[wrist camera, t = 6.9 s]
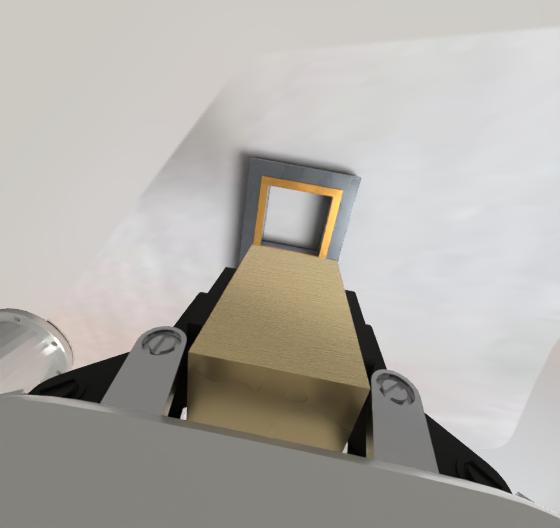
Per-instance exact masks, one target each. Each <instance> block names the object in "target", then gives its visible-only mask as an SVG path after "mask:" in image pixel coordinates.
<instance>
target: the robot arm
mask: <svg viewBox="0 0 560 528" xmlns="http://www.w3.org/2000/svg"><path fill="white" fill-rule="evenodd" d="M236 271H237V269H234V268H228V267H226V268H225V269H224V271H223V272H222V273H221V275H220V276H219V278H218V279H217V281H216V282H215V283H214V285H213V286H212V288H211V289H210V291H209V292H208V293H203V292H200V293H199V294H198V295H197V296H196V298H195V299H194V300H193V302H192V303H191V304H190V305H189V307H188V308H187V309H186V311H185V312H184V313H183V315H182V316H181V317H180V319H179V320H178V321H177V323H176V324H175V325H174V327H170V326H164V327H157V328H153V329H151V330H149V331H147V332H145V333H144V334H142V335H141V336H140V337H139V339H138V340H137V341H136V343H135V345H134V347H133V348H132V350H131V352H128V353H124V354H121V355H118V356H115V357H112V358H109V359H106V360H103V361H100V362H97V363H93V364H90V365H87V366H84V367H81V368H78V369H75V370H72V371H69V369H70V368H71V365H72V352H71V349H70V347H69V345H68V343H67V341H66V340H65V338H64V337H63V336H62V335H61V333H60V332H59V331H58V330H57V329H56V328H54V327H53V326H52V325H51V324H50V323H48V322H47V321H45V320H44V319H42V318H40V317H38V316H36V315H34V314H32V313H29V312H27V311H23V310H18V309H8V308H7V309H0V528H560V515H559V514H558V513H555V512H553V511H551V510H549V509H547V508H545V507H542V506H540V505H538V504H536V503H534V502H533V501H531V500H530V499H528V498H527V497H525V496H524V495H522V494H521V493H519V492H517V493H516V494H515V495H513V494H512V492H511V490H510V489H509V487H508V485H507V484H506V482H505V481H504V480H503V478H502V477H501V476H500V475H499V474H498V473H497V471H495V470H494V469H493V468H492V467H491V466H490V465H489V464H488V463H487V462H485V461H484V460H483V459H482V458H480V457H479V456H478V455H477V454H475V453H474V452H473V451H472V450H470V449H469V448H468V447H467V446H465V445H464V444H463V443H462V442H460V441H459V440H458V439H457V438H456V437H454V436H453V435H452V434H451V433H449V432H448V431H447V430H446V429H444V428H443V427H442V426H441V425H439V424H438V423H437V422H436V421H434V420H433V419H432V418H431V417H429V416H428V415H427V414H426V413H424V410H423V405H422V401H421V397H420V395H419V392H418V390H417V389H416V387H415V386H414V385H413V384H412V383H411V382H410V381H409V380H408V379H407V378H405V377H404V376H402V375H401V374H399V373H396V372H394V371H391V370H387V368H386V365H385V363H384V360H383V357H382V354H381V351H380V349H379V346H378V343H377V340H376V337H375V335H374V332H373V329H372V327H371V326H370V325H367V324H365V321H364V318H363V315H362V312H361V309H360V306H359V303H358V300H357V297H356V294H355V292H353V291H348V290H345V293H346V297H347V301H348V305H349V308H350V312H351V316H352V320H353V324H354V328H355V332H356V335H357V339H358V343H359V347H360V351H361V355H362V358H363V362H364V366H365V370H366V374H367V378H368V381H369V385H370V391H369V393H368V396H367V398H366V400H365V403H364V405H363V407H362V409H361V412H360V414H359V416H358V418H357V421H356V423H355V425H354V427H353V430H352V432H351V434H350V437H349V439H348V441H347V443H346V446H345V448H344V450H343V453H342V452H337V451H332V450H328V449H323V448H318V447H313V446H308V445H304V444H299V443H294V442H289V441H284V440H280V439H275V438H270V437H265V436H260V435H256V434H251V433H246V432H241V431H236V430H231V429H227V428H222V427H217V426H212V425H207V424H202V423H197V422H192V421H187V420H183V418H184V414H185V408H186V407H187V384H188V352H189V350H190V348H191V347H192V345H193V343H194V342H195V340H196V338H197V336H198V335H199V333H200V331H201V330H202V328H203V326H204V325H205V323H206V321H207V320H208V318H209V316H210V314H211V313H212V311H213V309H214V308H215V306H216V304H217V303H218V301H219V299H220V298H221V296H222V294H223V293H224V291H225V289H226V287H227V286H228V284H229V282H230V281H231V279H232V277H233V276H234V274H235V272H236ZM68 371H69V372H68ZM39 382H42V383H40V384H39V385H37V384H38V383H39ZM36 385H37V386H36ZM35 386H36V387H35ZM34 387H35V388H34ZM32 388H34V389H33V390H31V389H32ZM30 390H31V391H30ZM29 391H30V392H29Z"/></svg>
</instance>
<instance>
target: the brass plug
mask: <svg viewBox="0 0 560 528" xmlns="http://www.w3.org/2000/svg"><path fill="white" fill-rule="evenodd" d="M369 391H370V385H369V381H368V378H367V374H366V370H365V366H364V362H363V358H362V355H361V351H360V347H359V343H358V339H357V335H356V332H355V328H354V324H353V320H352V316H351V312H350V308H349V305H348V301H347V297H346V293H345V289H344V285H343V282H342V278H341V274H340V270H339V266H338V262H337V261H334V260H329V259H324V258H319V257H313V256H308V255H303V254H298V253H293V252H287V251H282V250H277V249H272V248H267V247H261V246H256V245H251V247H250V249H249V250H248V252H247V254H246V255H245V257H244V259H243V260H242V262H241V264H240V266H239V267H238V269H237V271H236V272H235V274H234V276H233V277H232V279H231V281H230V282H229V284H228V286H227V287H226V289H225V291H224V293H223V294H222V296H221V298H220V299H219V301H218V303H217V304H216V306H215V308H214V309H213V311H212V313H211V314H210V316H209V318H208V320H207V321H206V323H205V325H204V326H203V328H202V330H201V331H200V333H199V335H198V336H197V338H196V340H195V342H194V343H193V345H192V347H191V348H190V350H189V352H188V384H187V421H192V422H197V423H202V424H207V425H212V426H217V427H222V428H227V429H231V430H236V431H241V432H246V433H251V434H256V435H260V436H265V437H270V438H275V439H280V440H284V441H289V442H294V443H299V444H304V445H308V446H313V447H318V448H323V449H328V450H332V451H337V452H343V450H344V448H345V446H346V443H347V441H348V439H349V437H350V434H351V432H352V430H353V427H354V425H355V423H356V421H357V418H358V416H359V414H360V412H361V409H362V407H363V405H364V403H365V400H366V398H367V396H368V393H369Z"/></svg>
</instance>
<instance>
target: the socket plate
mask: <svg viewBox="0 0 560 528" xmlns="http://www.w3.org/2000/svg"><path fill="white" fill-rule="evenodd" d="M360 180H361V178H360V177H358V176H353V175H348V174H342V173H337V172H331V171H326V170H320V169H315V168H309V167H304V166H298V165H293V164H287V163H282V162H276V161H270V160H265V159H259V158H254V157H252V158H250V162H249V172H248V181H247V190H246V200H245V209H244V219H243V228H242V237H241V247H240V256H239V265H238V267H239V266H240V264H241V262H242V260H243V259H244V257H245V255H246V254H247V252H248V250H249V249H250V247H251V245H256V246H261V247H267V248H272V249H277V250H282V251H287V252H293V253H298V254H303V255H308V256H313V257H319V258H324V259H329V260H334V261H337V262H338V259H339V256H340V252H341V248H342V245H343V241H344V238H345V234H346V230H347V227H348V223H349V220H350V216H351V213H352V209H353V205H354V202H355V198H356V195H357V191H358V188H359V184H360ZM270 186H276V187H282V188H287V189H293V190H298V191H304V192H309V193H314V194H320V195H325V196H331V200H330V204H329V208H328V212H327V216H326V220H325V224H324V229H323V233H322V237H321V241H320V245H319V249H318V251H315V250H310V249H304V248H299V247H294V246H288V245H283V244H278V243H272V242H267V241H263V235H264V228H265V221H266V214H267V207H268V200H269V193H270Z"/></svg>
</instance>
